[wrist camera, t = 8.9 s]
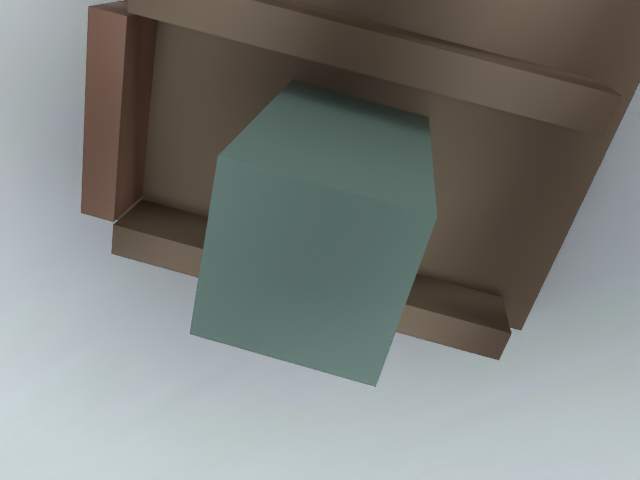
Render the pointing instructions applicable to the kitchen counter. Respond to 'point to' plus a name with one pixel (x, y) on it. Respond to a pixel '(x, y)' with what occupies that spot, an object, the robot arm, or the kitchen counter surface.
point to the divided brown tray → (381, 87)
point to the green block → (317, 231)
